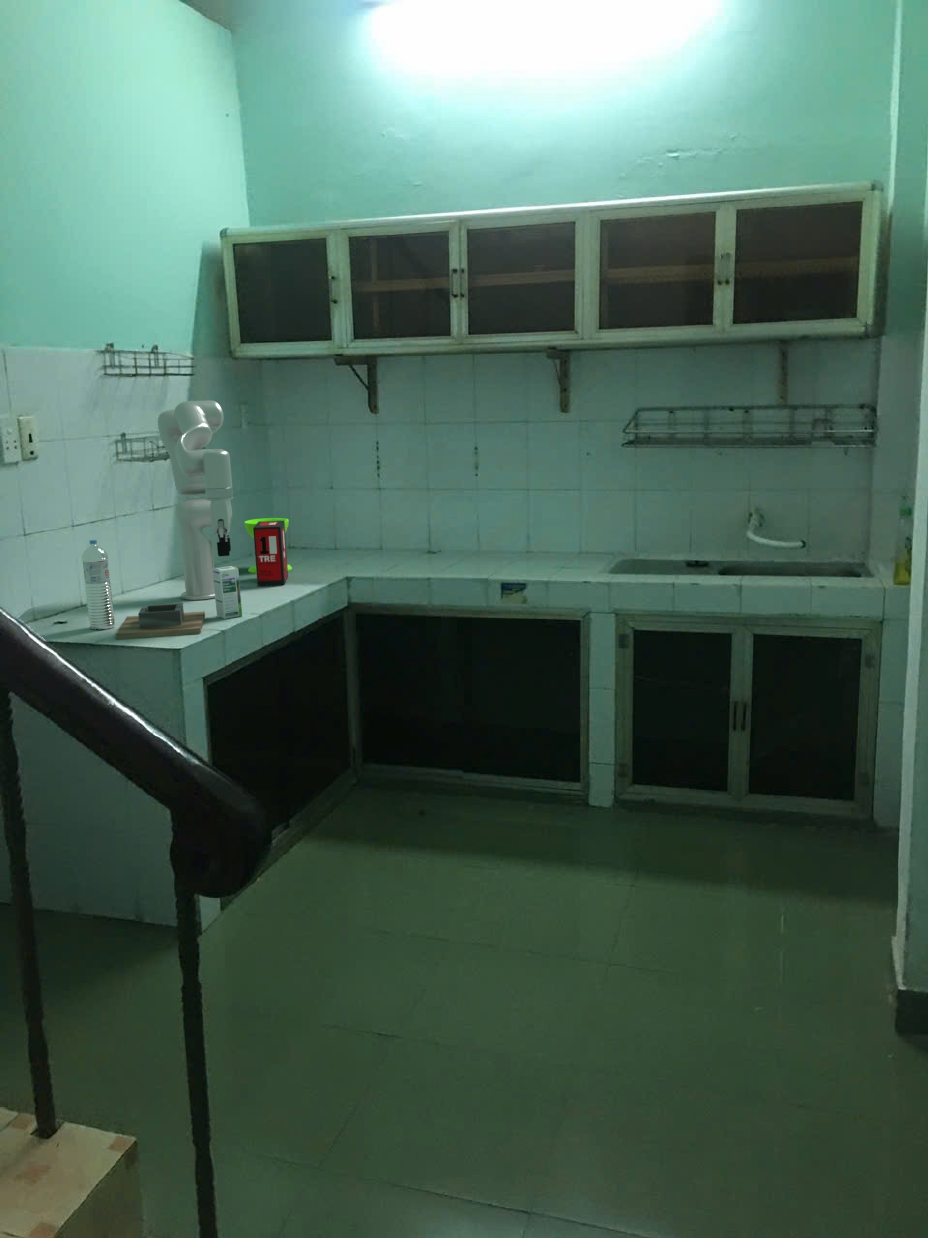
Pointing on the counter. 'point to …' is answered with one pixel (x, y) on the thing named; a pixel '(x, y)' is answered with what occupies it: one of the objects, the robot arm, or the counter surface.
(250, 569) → the wineglass
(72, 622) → the counter surface
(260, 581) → the cleaning product box
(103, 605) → the water bottle
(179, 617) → the socket board
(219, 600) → the syrup box
